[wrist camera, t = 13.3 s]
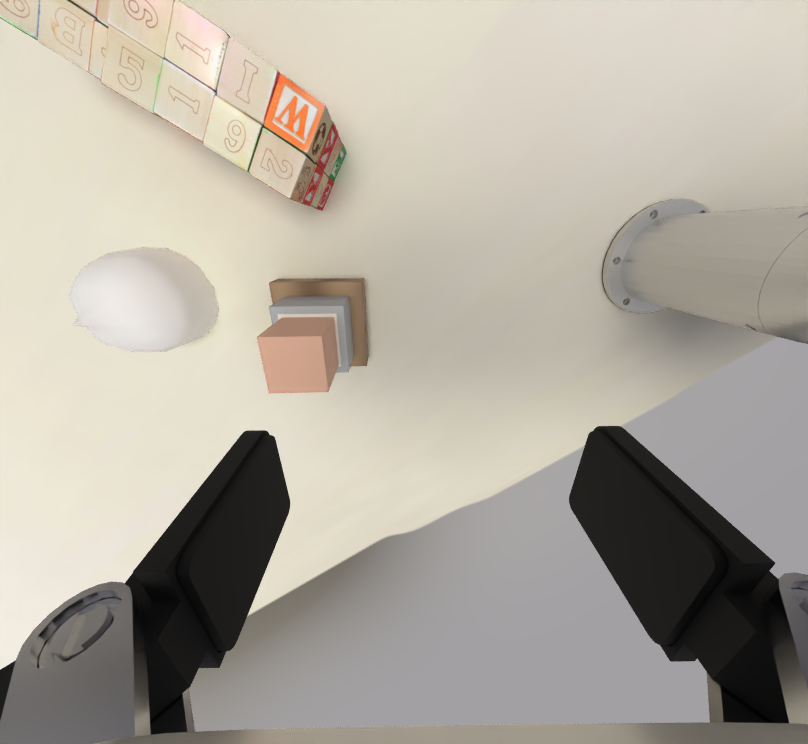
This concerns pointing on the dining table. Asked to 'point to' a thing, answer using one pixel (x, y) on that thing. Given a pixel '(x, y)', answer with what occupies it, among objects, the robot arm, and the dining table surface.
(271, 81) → the stack of blocks
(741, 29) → the dining table surface
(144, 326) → the teardrop
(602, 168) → the dining table surface
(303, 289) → the plinth
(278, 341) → the terracotta block
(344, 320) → the grey block
